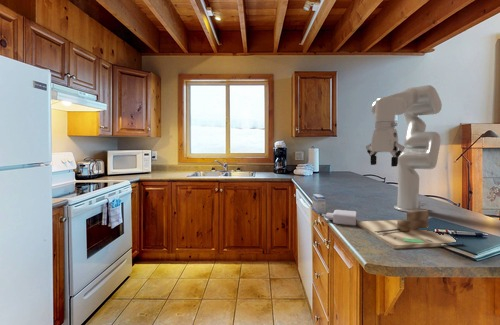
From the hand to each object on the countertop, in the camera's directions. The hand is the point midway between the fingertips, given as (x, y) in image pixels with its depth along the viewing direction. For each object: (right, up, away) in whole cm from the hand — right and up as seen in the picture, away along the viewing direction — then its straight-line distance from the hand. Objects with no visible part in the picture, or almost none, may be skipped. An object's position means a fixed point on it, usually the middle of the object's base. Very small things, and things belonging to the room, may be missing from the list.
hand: (383, 165), depth 112 cm
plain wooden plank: (+2, -25, -11) cm, 28 cm away
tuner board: (+2, -27, -11) cm, 29 cm away
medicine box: (-23, -25, +22) cm, 40 cm away
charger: (-18, -26, +6) cm, 32 cm away
